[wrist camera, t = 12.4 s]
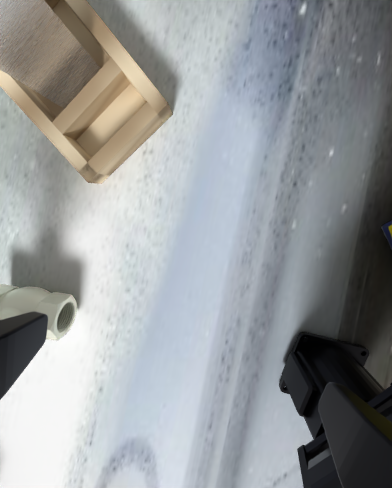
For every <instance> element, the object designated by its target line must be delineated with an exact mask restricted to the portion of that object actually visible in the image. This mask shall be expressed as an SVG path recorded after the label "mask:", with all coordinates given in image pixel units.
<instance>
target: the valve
mask: <svg viewBox="0 0 392 488" xmlns="http://www.w3.org/2000/svg"><path fill="white" fill-rule="evenodd" d="M32 311H36V312H40V313H44V314H46V315H47V316H48V326H47V336H46V339H49V340H56V341H58V340H59V339H61V338H62V337H63V336H64V335H66V334H67V332H68V331H69V330H70V328H71V326H72V324H73V322H74V320H75V317H76V312H77V303H76V300H75V298H74V297H73V296H72V295H71V294H65V293H59V292H54V293H50V292H49V291H47V290H45V289H43V288H39V287H22V288H19V287H18V286H12V285H5V284H0V320H2V319H6V318H10V317H14V316H17V315H21V314H25V313H28V312H32Z"/></svg>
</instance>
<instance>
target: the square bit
mask: <svg viewBox="0 0 392 488" xmlns="http://www.w3.org/2000/svg"><path fill="white" fill-rule="evenodd" d="M100 69H101V68H100V67H99V66H98V65H97V63H96V62H95V61H94V60H93V58H92V57H91V56H90V55H89V54H88V52H87V51H86V50H85V49H84V48H83V46H82V45H81V44H80V43H79V41H78V40H77V39H76V38H75V37H74V35H73V34H72V33H71V32H70V31H69V29H68V28H67V27H66V26H65V25H64V23H63V22H62V21H61V20H60V18H59V17H58V16H57V15H56V14H55V12H54V11H53V10H52V9H51V8H50V6H49V5H48V4H47V3H46V2H45V0H0V70H2V71H3V72H5V73H7V74H8V75H10V76H11V77H13V78H15V79H16V80H18V81H20V82H21V83H23V84H25V85H26V86H28V87H30V88H31V89H33V90H35V91H36V92H38V93H39V94H41V95H43V96H44V97H46V98H48V99H49V100H51V101H53V102H54V103H56V104H58V105H59V106H61V107H62V108H64V109H65V108H66V106H67V105H68V104H69V103H70V102H71V101H72V100H73V99H74V98H75V97H76V96H77V94H78V93H79V92H80V91H81V90H82V89H83V88H84V87H85V86H86V85H87V83H88V82H89V81H90V80H91V79H92V78H93V77H94V76H95V75H96V74H97V72H98V71H99V70H100Z"/></svg>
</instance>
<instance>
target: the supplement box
mask: <svg viewBox="0 0 392 488" xmlns="http://www.w3.org/2000/svg"><path fill="white" fill-rule="evenodd" d="M381 228H382V230H383V232H384V234H385V236H386V238H387V240H388V242H389V245H390V247H391V250H392V221H390V222H388V223H386V224H384V225H383V226H382V227H381Z"/></svg>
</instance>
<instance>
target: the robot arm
mask: <svg viewBox="0 0 392 488" xmlns="http://www.w3.org/2000/svg"><path fill="white" fill-rule="evenodd" d="M47 326H48V316H47V315H46V314H44V313H40V312H36V311H32V312H28V313H25V314H21V315H17V316H14V317H10V318H6V319H2V320H0V400H1V398H2V397H3V396H4V395H5V394H6V393H7V391H8V390H9V389H10V388H11V386H12V385H13V384H14V382H15V381H16V380H17V378H18V377H19V376H20V375H21V373H22V372H23V371H24V369H25V368H26V367H27V365H28V364H29V363H30V361H31V360H32V359H33V357H34V356H35V355H36V354H37V352H38V351H39V350H40V348H41V347H42V346H43V344H44V342H45V340H46V336H47ZM304 337H306V338H305V339H303V338H304ZM362 351H363V352H362ZM361 352H362V353H361ZM368 356H369V351H368V350H367V349H366V348H365V347H364V346H361V345H356V344H352V343H348V342H344V341H340V340H336V339H332V338H328V337H323V336H319V335H315V334H311V333H307V332H301V333H300V334H299V335H298V337H297V339H296V342H295V345H294V347H293V350H292V352H291V353H290V354H289V357H288V359H287V362H286V365H285V367H284V370H283V372H282V378H281V381H280V383H279V387H280V390H281V391H282V392H284V393H287V394H290V395H291V398H292V400H293V403H294V405H295V407H296V410H297V412H298V414H299V415H300V416H303V417H304V419H305V421H306V423H307V425H308V428H309V430H310V432H311V434H312V437H313V439H314V440H312V441H311V442H309V443H308V444H307V445H302V446H301V447H299V448H298V449H297V450H298V456H299V462H300V468H301V474H302V480H303V486H304V488H392V383H391V384H390V385H391V386H390V387H388V388H387V389H384V388H383V387H382V386H381V385H380V384H379V383H378V382H377V381H376V380H375V379H374V378H373V376H372V375H371V374H370V373H369V372H368V371H367V370H366V369H365V368H364V367H363V366H364V364H365V362H366V360H367V358H368ZM285 386H286V387H285Z"/></svg>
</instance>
